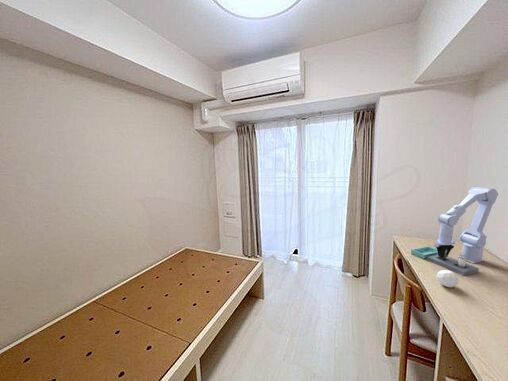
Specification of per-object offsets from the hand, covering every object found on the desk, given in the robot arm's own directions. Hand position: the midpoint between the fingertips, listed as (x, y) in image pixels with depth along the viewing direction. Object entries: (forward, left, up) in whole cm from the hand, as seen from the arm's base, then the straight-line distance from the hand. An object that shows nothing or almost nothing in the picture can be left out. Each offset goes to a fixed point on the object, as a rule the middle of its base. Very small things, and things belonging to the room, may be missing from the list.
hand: (442, 256), depth 126 cm
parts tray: (0, -10, -3) cm, 10 cm away
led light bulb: (0, 0, -3) cm, 3 cm away
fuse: (0, +9, -3) cm, 10 cm away
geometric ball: (+24, +16, -4) cm, 29 cm away
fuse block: (0, +4, -3) cm, 6 cm away
